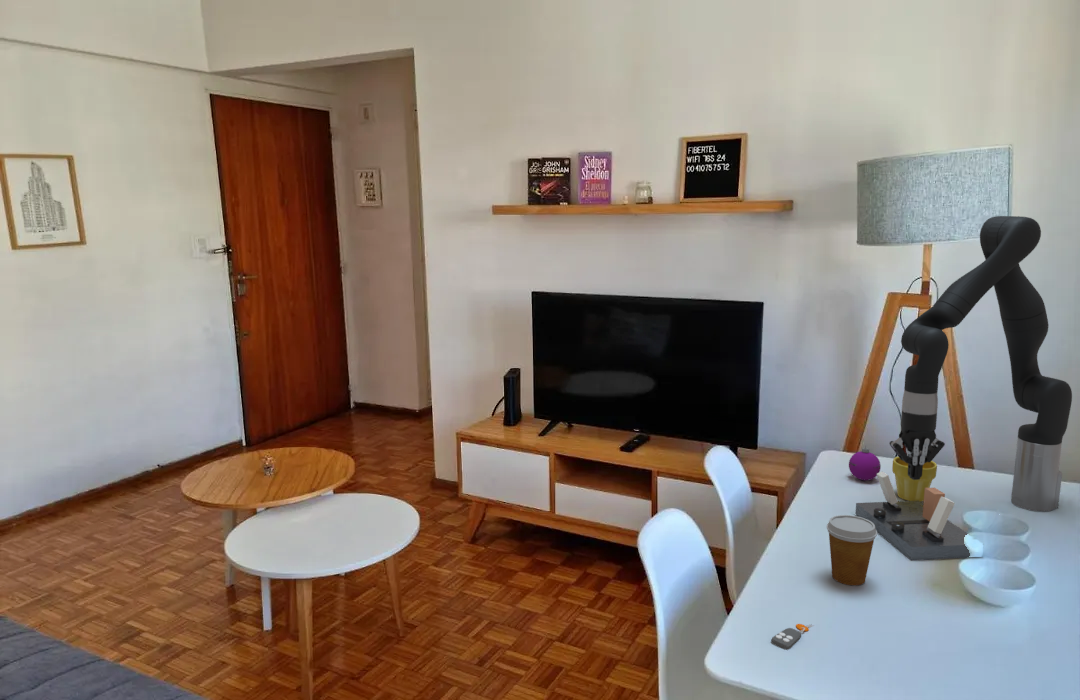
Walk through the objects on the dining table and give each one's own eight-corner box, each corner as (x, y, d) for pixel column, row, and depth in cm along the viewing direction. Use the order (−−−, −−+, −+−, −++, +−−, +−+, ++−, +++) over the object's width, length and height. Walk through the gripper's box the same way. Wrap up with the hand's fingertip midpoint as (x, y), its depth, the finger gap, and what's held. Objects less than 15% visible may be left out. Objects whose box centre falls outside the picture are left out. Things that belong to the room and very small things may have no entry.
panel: (917, 511, 185) (918, 494, 184) (982, 557, 160) (984, 537, 159) (855, 514, 184) (856, 497, 183) (911, 560, 159) (912, 540, 158)
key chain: (789, 653, 127) (789, 645, 127) (769, 644, 130) (769, 636, 130) (824, 624, 136) (824, 617, 136) (804, 616, 139) (805, 609, 138)
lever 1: (891, 500, 181) (881, 470, 180) (899, 506, 178) (889, 476, 176) (885, 502, 181) (875, 473, 180) (894, 508, 178) (883, 478, 176)
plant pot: (942, 504, 189) (945, 468, 187) (901, 505, 189) (903, 468, 188) (922, 490, 199) (925, 455, 198) (883, 490, 199) (886, 455, 198)
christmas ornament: (848, 473, 213) (850, 439, 211) (879, 476, 210) (881, 442, 208) (847, 482, 206) (849, 448, 204) (879, 486, 202) (882, 451, 201)
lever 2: (930, 531, 165) (945, 497, 164) (940, 538, 161) (956, 503, 160) (924, 529, 165) (939, 495, 163) (934, 536, 161) (950, 501, 160)
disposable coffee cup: (871, 571, 155) (875, 517, 153) (875, 592, 146) (880, 535, 144) (823, 564, 158) (826, 511, 156) (824, 585, 149) (827, 529, 147)
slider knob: (932, 516, 174) (934, 487, 172) (942, 523, 170) (945, 493, 168) (922, 516, 173) (924, 487, 172) (932, 523, 170) (934, 494, 168)
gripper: (937, 404, 180) (931, 472, 183) (884, 406, 179) (879, 474, 182) (956, 412, 172) (950, 483, 175) (900, 414, 172) (896, 485, 175)
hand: (914, 478), depth 179 cm, fingers closed
